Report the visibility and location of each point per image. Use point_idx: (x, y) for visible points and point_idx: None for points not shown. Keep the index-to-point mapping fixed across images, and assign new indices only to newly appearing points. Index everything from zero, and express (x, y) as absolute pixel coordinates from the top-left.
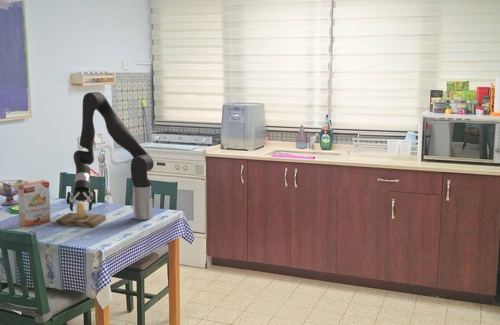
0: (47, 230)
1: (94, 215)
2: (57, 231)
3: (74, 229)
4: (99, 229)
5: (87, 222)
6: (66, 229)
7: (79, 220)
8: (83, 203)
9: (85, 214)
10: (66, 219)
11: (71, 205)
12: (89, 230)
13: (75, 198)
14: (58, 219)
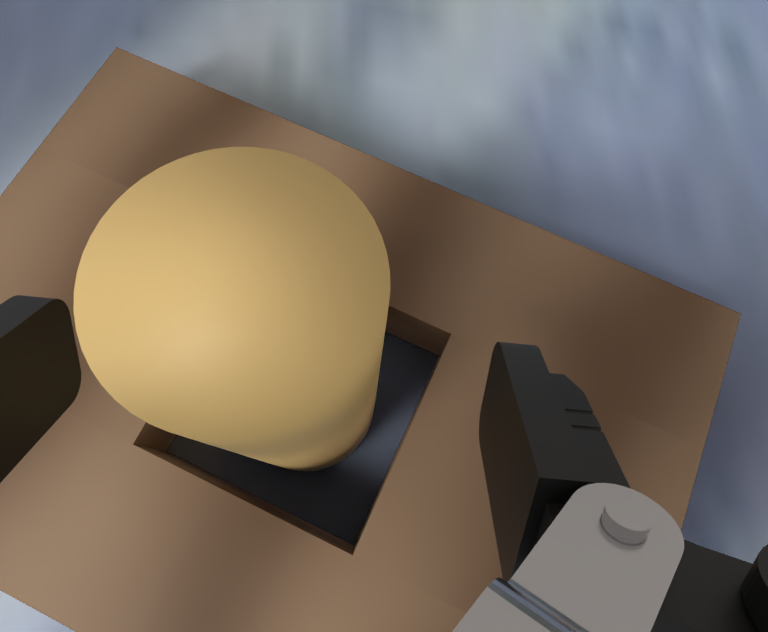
0: (741, 110)
1: (16, 492)
2: (608, 48)
3: (406, 79)
4: (94, 14)
5: (214, 93)
6: (508, 100)
7: None
8: (136, 211)
9: (191, 629)
10: (559, 310)
11: (556, 408)
12: (222, 4)
13: (461, 622)
14: (701, 341)
